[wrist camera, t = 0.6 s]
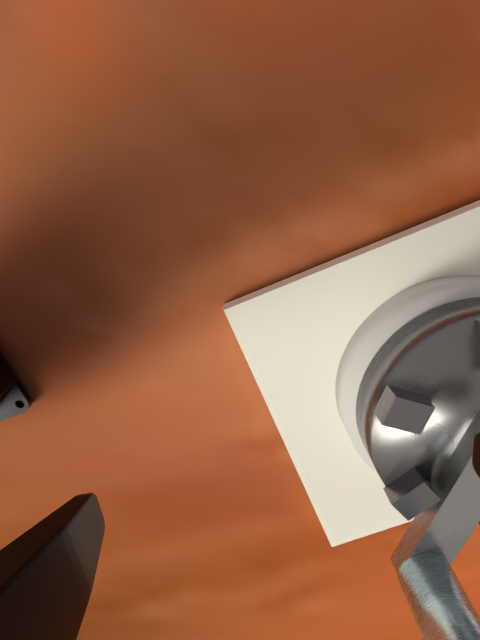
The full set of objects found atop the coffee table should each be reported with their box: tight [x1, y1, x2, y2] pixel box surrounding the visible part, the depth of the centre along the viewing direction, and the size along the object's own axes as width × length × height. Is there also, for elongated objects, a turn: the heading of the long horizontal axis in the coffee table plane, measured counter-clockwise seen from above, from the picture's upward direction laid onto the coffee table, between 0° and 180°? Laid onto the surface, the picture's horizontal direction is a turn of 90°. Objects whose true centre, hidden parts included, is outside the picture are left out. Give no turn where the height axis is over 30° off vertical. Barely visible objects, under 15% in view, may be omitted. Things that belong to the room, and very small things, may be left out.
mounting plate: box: [224, 200, 480, 547], centre depth 22 cm, size 17×18×3 cm
